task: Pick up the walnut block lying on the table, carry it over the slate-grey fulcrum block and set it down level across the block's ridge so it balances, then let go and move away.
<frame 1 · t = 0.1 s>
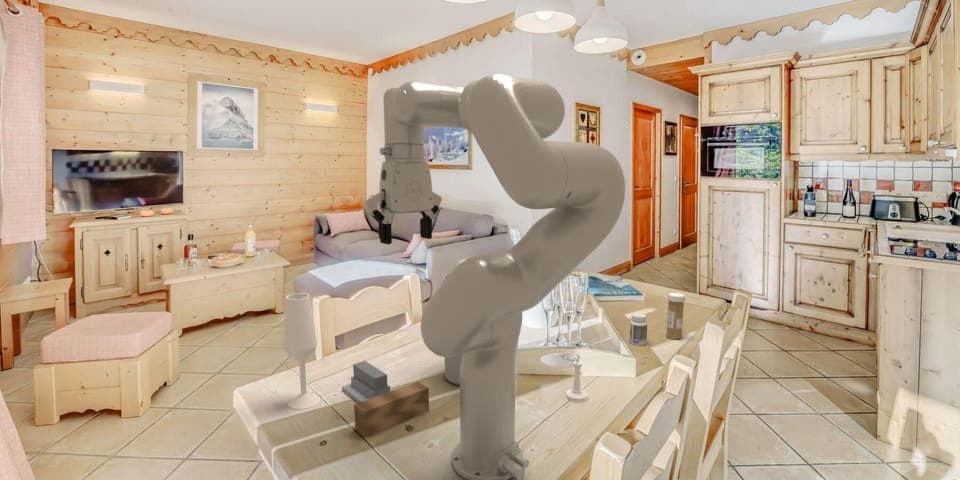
hand: (406, 240, 96), 37 cm above the table, tool pointing down, fingers open, 9 cm apart
fulcrum block: (370, 394, 109), on the table
pill bottle: (637, 343, 140), on the table
walnut block: (393, 420, 98), on the table
champagne flute: (304, 402, 106), on the table
cylinder vase: (470, 376, 118), on the table
sprinkles bottle: (673, 337, 144), on the table
chess piece: (576, 397, 108), on the table
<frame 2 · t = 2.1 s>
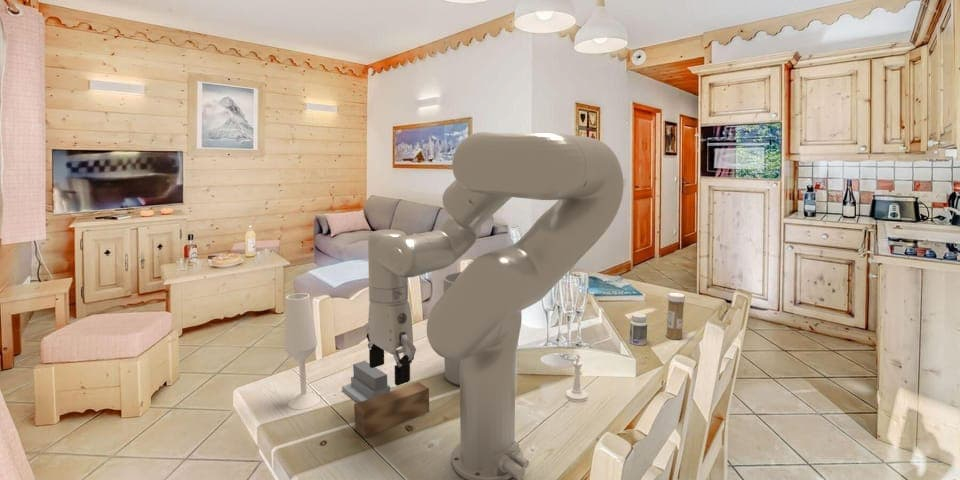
hand: (389, 374, 97), 10 cm above the table, tool pointing down, fingers open, 9 cm apart
nothing on the table moved.
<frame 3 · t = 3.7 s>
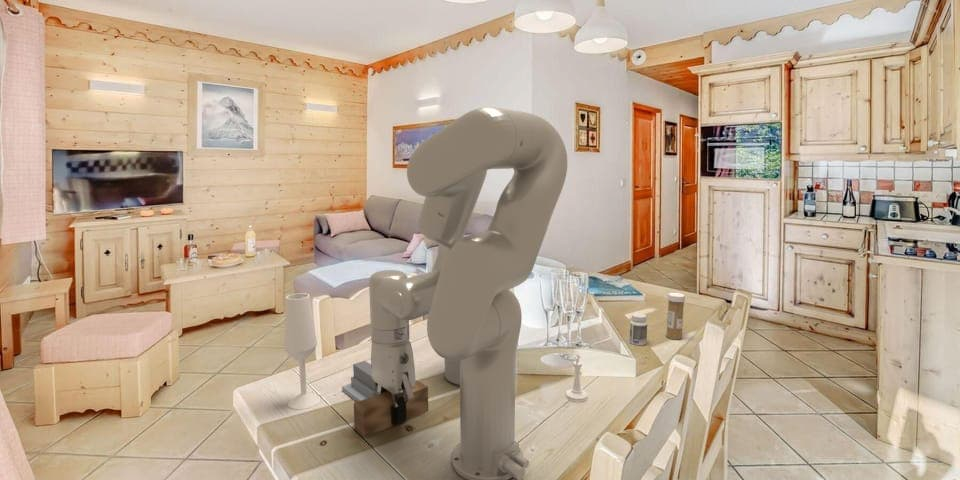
hand: (392, 417, 98), 1 cm above the table, tool pointing down, fingers closed on walnut block, 4 cm apart
walnut block: (392, 419, 98), on the table, touching gripper
everything else where it was.
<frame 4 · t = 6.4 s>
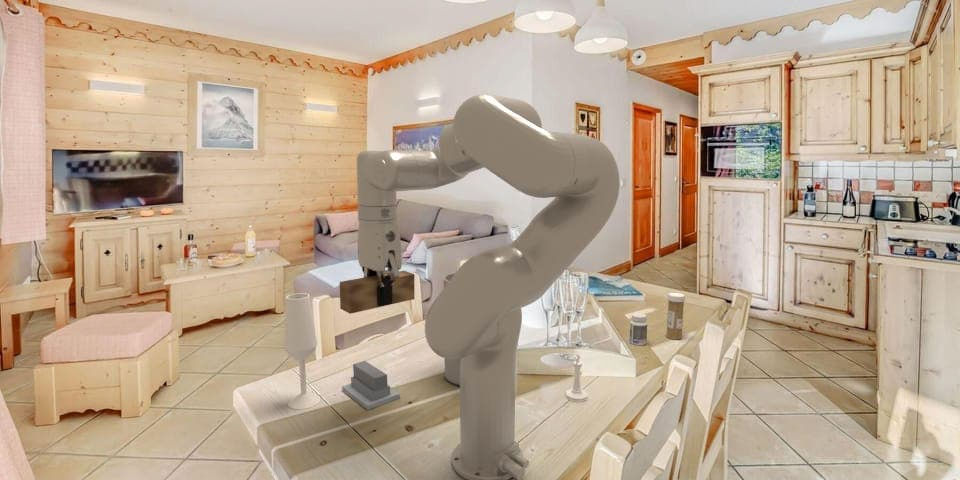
hand: (378, 301, 98), 24 cm above the table, tool pointing down, fingers closed on walnut block, 4 cm apart
walnut block: (378, 303, 99), point 23 cm above the table, touching gripper
everything else where it was.
when the fingers open (7 cm above the table, at t = 9.4 s): walnut block stays where it is, resting on fulcrum block.
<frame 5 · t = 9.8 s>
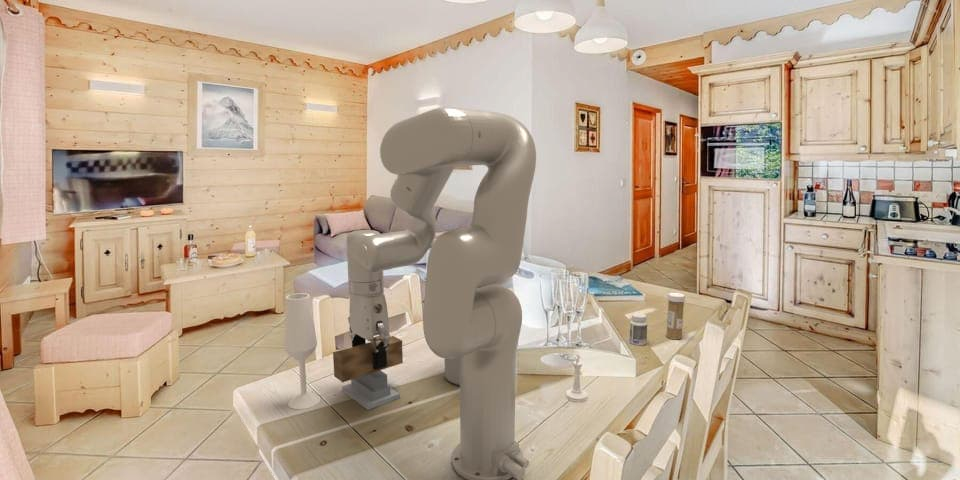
hand: (369, 361, 108), 8 cm above the table, tool pointing down, fingers open, 8 cm apart
walnut block: (369, 369, 108), point 6 cm above the table, touching fulcrum block
everything else where it was.
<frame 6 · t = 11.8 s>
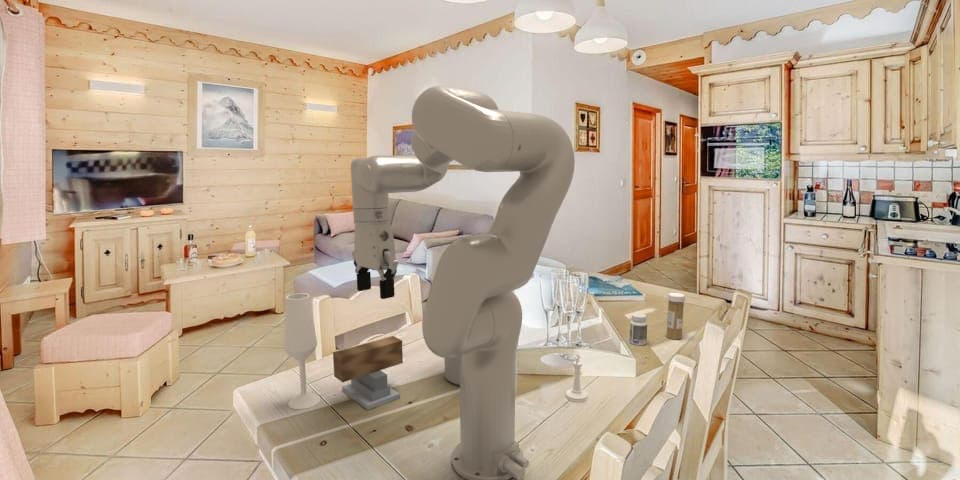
hand: (375, 293, 105), 24 cm above the table, tool pointing down, fingers open, 9 cm apart
nothing on the table moved.
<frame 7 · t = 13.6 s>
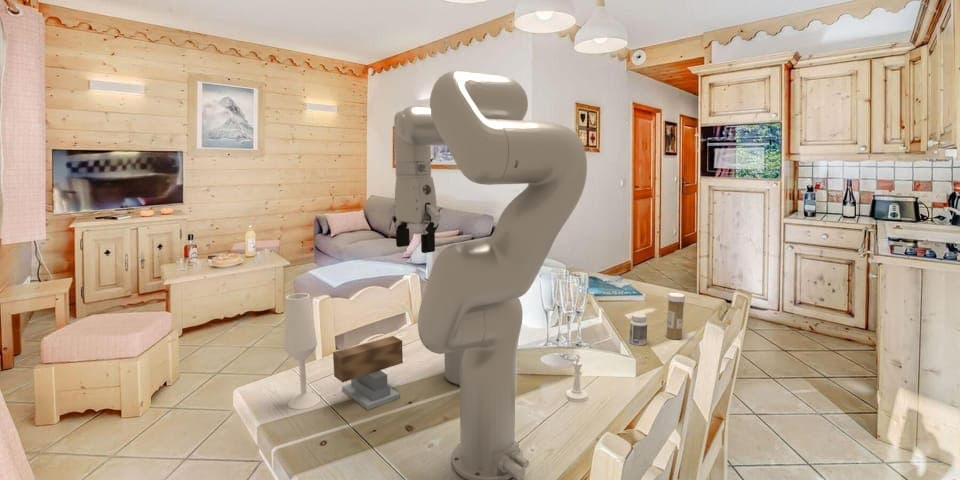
hand: (415, 249, 105), 33 cm above the table, tool pointing down, fingers open, 9 cm apart
nothing on the table moved.
at the end: walnut block inside the target area on the fulcrum block (0.1 cm from its centre), point 6.0 cm above the fulcrum block's base; walnut block touching fulcrum block; walnut block tilted 0° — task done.
